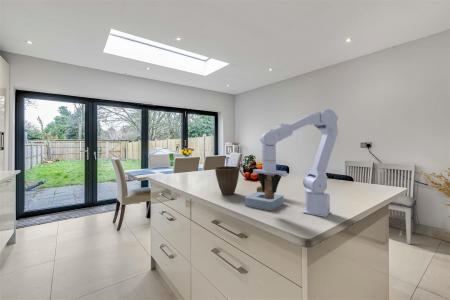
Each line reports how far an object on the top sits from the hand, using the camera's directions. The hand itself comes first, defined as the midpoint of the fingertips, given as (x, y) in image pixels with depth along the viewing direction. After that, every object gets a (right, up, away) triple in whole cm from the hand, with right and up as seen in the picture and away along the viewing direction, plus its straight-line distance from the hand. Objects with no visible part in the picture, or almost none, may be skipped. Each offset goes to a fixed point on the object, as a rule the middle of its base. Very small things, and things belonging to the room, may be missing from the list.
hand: (269, 191), depth 87 cm
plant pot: (-17, -9, +37) cm, 41 cm away
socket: (0, -9, +14) cm, 17 cm away
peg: (0, -3, 0) cm, 3 cm away
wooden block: (+5, -9, +32) cm, 34 cm away
